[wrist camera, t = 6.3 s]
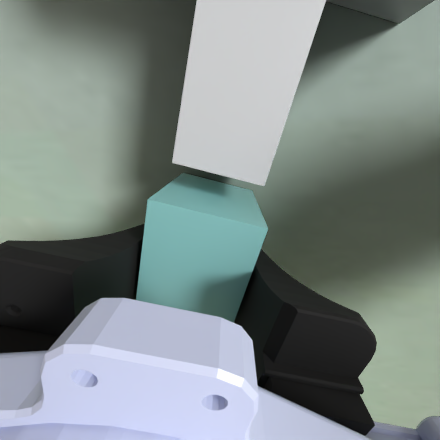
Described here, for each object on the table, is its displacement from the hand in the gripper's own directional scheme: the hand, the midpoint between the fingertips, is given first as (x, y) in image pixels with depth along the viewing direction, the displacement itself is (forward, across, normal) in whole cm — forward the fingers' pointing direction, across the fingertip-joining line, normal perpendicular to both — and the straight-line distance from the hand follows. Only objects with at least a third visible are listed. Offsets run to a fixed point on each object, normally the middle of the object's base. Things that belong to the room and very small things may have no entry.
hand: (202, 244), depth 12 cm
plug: (+1, 0, -5) cm, 5 cm away
